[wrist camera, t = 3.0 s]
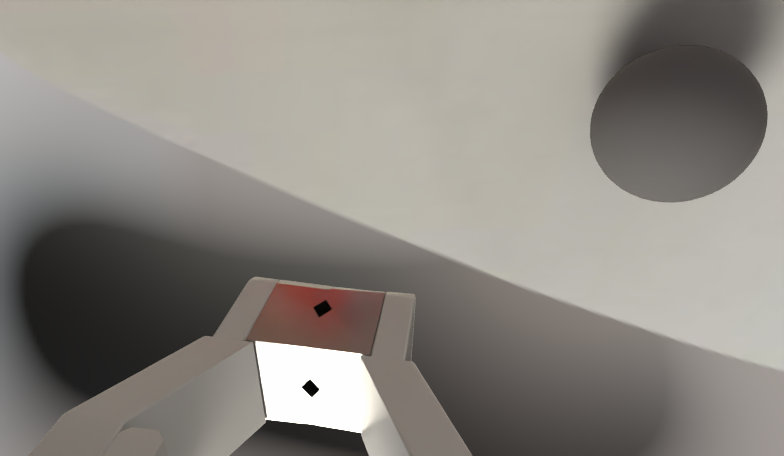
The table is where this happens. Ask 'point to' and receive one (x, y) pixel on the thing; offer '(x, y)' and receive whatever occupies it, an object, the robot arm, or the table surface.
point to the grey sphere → (678, 123)
